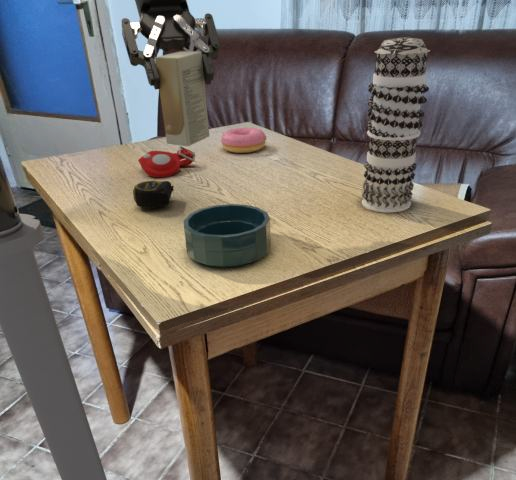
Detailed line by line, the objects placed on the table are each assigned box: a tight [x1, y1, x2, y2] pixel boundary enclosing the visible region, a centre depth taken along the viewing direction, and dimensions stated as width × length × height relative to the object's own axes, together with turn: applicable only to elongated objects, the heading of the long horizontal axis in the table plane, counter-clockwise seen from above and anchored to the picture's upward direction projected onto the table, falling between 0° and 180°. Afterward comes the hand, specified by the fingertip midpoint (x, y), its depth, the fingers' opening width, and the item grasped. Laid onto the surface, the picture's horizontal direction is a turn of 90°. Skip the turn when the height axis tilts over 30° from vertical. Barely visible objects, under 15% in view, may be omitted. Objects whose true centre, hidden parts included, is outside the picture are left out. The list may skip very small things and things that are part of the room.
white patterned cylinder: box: [361, 37, 431, 214], centre depth 83 cm, size 9×9×25 cm
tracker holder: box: [138, 145, 197, 178], centre depth 112 cm, size 12×4×10 cm
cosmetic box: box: [155, 50, 210, 147], centre depth 78 cm, size 6×4×12 cm
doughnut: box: [220, 127, 267, 154], centre depth 123 cm, size 11×11×4 cm
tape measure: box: [132, 180, 175, 209], centre depth 93 cm, size 7×7×4 cm
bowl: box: [183, 203, 272, 268], centre depth 76 cm, size 12×12×5 cm
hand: (183, 83), depth 76 cm, fingers closed on cosmetic box, 7 cm apart
